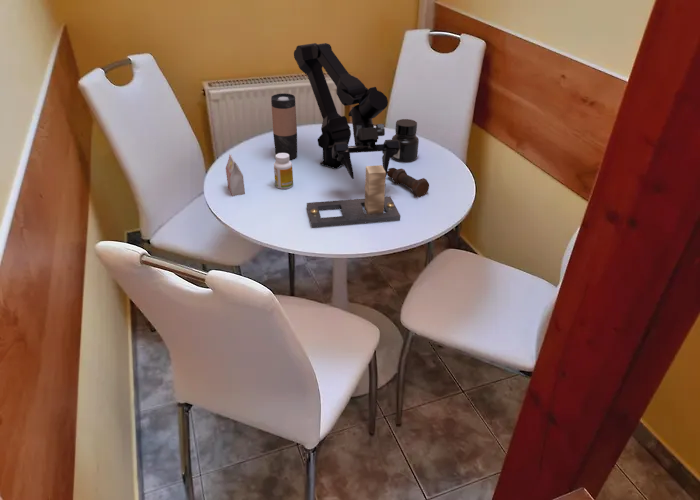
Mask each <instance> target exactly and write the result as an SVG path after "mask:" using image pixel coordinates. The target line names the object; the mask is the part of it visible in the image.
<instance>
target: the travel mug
mask: <svg viewBox="0 0 700 500" xmlns="http://www.w3.org/2000/svg"><path fill="white" fill-rule="evenodd" d="M296 105H297V104H296V96H295V95H294V94H291V93H282V92H281V93H277V94H273V95H271V115H272V116H271V117H272V119H271V120H272V133H273V143H274V152H275V154H274V155H276V154H278V153H287V154H289V158H290V159H289V161H291V162H292V161H294V160H296V159H297V158H298V125H297V109H296V107H297V106H296Z"/></svg>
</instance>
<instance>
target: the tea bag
mask: <svg viewBox="0 0 700 500" xmlns="http://www.w3.org/2000/svg"><path fill="white" fill-rule="evenodd" d="M225 175H226V181H227V187H228V190H229V191H230V194H231V196H232V197H237V196H241V195H246V191H245V181H244V175H243V172H242V171H241V169H240V168H239V165H238V163H237V162H236V161H235V160H234V158H233V156H232V154H229V157H228V161H227V162H226V166H225Z"/></svg>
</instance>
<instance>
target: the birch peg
mask: <svg viewBox="0 0 700 500" xmlns="http://www.w3.org/2000/svg"><path fill="white" fill-rule="evenodd" d="M386 177H387V175H386V172H385V170H384V168H383V164H382V165H381V164H380V165H366V166H365V180H364V198H365V206H364V207H363V210H364V213H365V214H373V213H385V210H384V197H386V196H385V195H386V193H385V192H386V179H387V178H386Z"/></svg>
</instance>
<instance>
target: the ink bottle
mask: <svg viewBox="0 0 700 500" xmlns="http://www.w3.org/2000/svg"><path fill="white" fill-rule="evenodd" d="M417 127H418V122H417V121H415V120H413V119H410V118H409V119H408V118H401V119H398V120H396V121H395V134H394V135H393V136H392V138H391V140H392V139H397V140H398V141H399V142H400V149H399V151H398V153H397V154H396V155H394V156H393V157H392V158H391V159H393V161H396V162H402V163H409V162H414V161H416V160H417V158H418V153H419V142H420V141H419V137H418V136H417V131H418V129H417Z"/></svg>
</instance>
